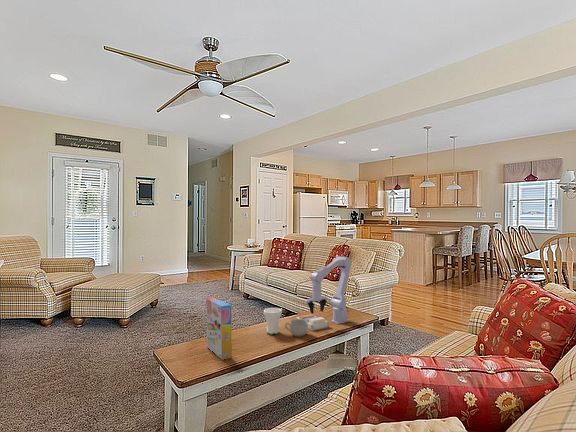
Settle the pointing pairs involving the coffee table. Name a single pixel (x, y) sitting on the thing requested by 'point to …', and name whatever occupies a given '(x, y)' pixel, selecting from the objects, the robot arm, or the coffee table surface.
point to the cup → (272, 320)
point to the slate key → (310, 318)
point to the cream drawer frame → (317, 325)
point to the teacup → (298, 327)
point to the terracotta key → (306, 316)
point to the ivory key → (316, 320)
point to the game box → (219, 327)
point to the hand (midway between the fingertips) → (316, 312)
